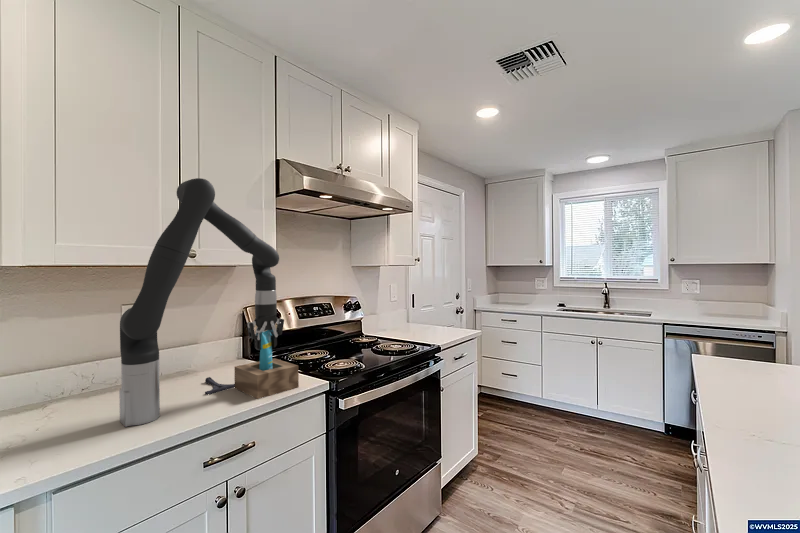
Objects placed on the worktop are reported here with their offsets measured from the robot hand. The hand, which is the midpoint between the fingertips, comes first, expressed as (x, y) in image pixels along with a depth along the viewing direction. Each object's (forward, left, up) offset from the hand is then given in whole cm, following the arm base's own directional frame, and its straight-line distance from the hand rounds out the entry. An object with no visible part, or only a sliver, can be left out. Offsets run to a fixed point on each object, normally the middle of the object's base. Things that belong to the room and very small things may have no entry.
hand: (266, 348), depth 139 cm
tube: (0, 0, -13) cm, 13 cm away
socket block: (0, 0, -15) cm, 15 cm away
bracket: (-11, +17, -15) cm, 25 cm away
